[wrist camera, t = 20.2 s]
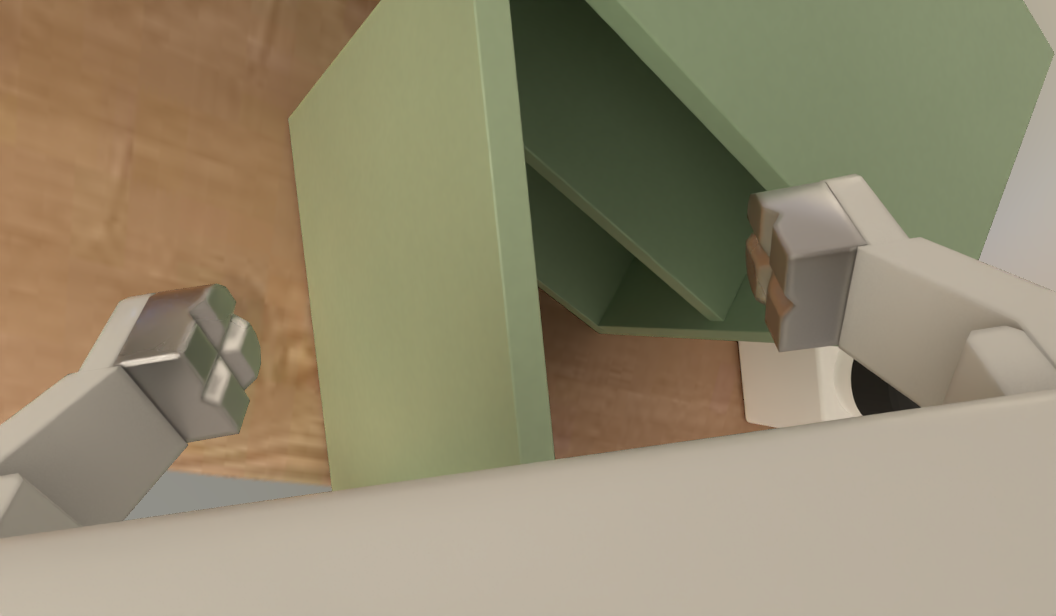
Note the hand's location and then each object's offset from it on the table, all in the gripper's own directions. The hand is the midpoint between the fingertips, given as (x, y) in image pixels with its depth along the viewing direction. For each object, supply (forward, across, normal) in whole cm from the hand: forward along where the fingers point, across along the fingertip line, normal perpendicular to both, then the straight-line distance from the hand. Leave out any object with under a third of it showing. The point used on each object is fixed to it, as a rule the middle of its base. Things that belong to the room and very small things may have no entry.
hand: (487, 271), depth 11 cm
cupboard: (+30, 0, +14) cm, 33 cm away
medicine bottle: (+26, -15, +35) cm, 46 cm away
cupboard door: (+17, +15, +15) cm, 27 cm away
